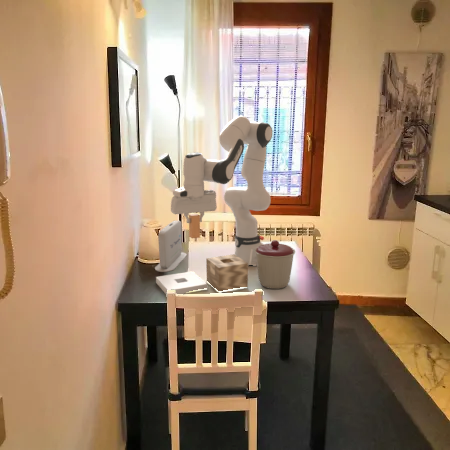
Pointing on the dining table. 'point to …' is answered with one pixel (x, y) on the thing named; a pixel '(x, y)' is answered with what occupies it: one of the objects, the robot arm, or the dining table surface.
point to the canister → (274, 264)
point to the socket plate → (181, 282)
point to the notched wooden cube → (227, 272)
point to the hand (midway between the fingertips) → (194, 222)
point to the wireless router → (170, 247)
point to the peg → (194, 226)
